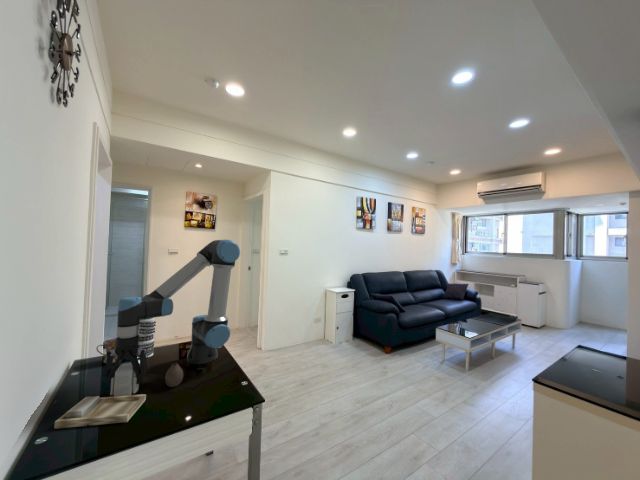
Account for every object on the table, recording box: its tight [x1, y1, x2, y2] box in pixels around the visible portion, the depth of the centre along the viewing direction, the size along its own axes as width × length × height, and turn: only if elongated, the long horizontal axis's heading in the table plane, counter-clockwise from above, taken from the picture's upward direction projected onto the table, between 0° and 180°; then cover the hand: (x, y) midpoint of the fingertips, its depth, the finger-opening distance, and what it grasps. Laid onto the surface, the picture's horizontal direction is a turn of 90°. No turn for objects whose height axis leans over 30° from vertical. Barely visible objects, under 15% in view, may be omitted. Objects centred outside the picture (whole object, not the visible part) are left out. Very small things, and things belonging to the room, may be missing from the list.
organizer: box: [54, 393, 147, 429], centre depth 91 cm, size 21×13×4 cm, turn 101°
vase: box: [164, 362, 184, 388], centre depth 111 cm, size 7×7×9 cm
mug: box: [96, 337, 118, 364], centre depth 132 cm, size 12×9×11 cm
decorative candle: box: [136, 317, 157, 359], centre depth 140 cm, size 9×9×25 cm
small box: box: [113, 362, 136, 397], centre depth 104 cm, size 8×6×10 cm
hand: (124, 392), depth 103 cm, fingers open, 7 cm apart
